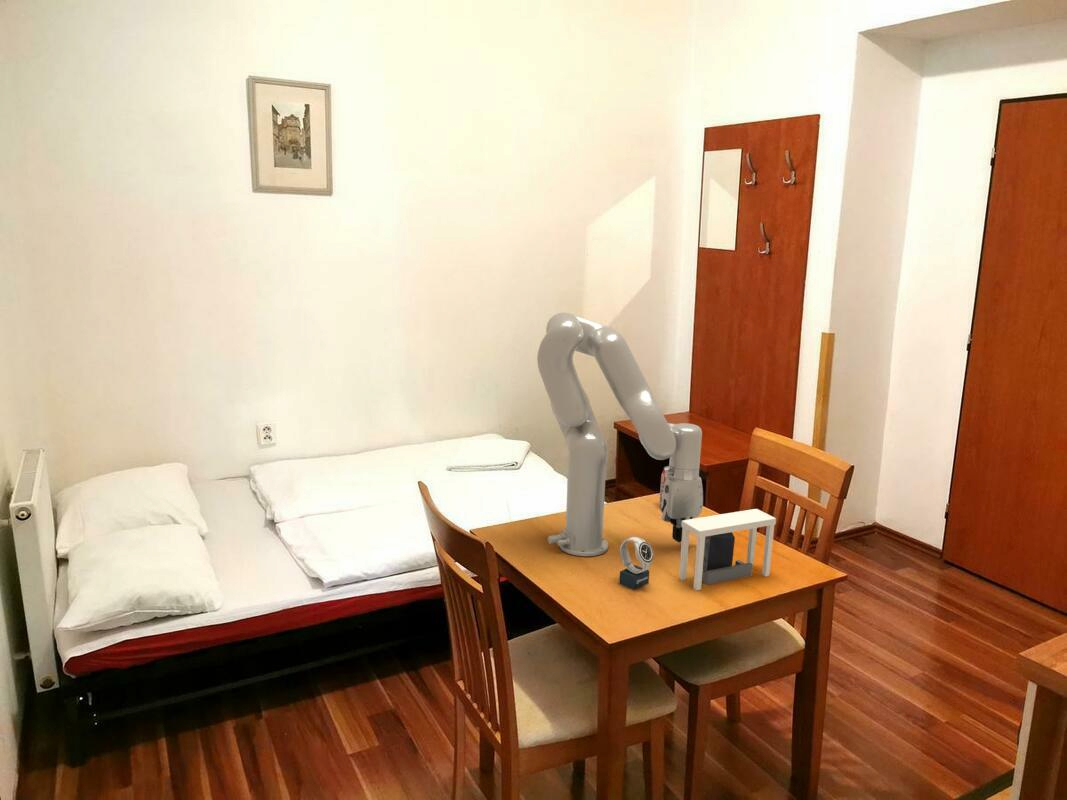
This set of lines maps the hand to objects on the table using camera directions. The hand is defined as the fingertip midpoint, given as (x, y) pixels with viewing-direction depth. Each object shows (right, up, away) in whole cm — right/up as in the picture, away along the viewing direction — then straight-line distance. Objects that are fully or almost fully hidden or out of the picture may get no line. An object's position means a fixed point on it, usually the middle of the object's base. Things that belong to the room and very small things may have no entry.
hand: (678, 540), depth 208 cm
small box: (+7, -5, -11) cm, 14 cm away
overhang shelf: (+8, -6, -16) cm, 19 cm away
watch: (-14, -7, -21) cm, 26 cm away
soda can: (+3, +4, +29) cm, 29 cm away
